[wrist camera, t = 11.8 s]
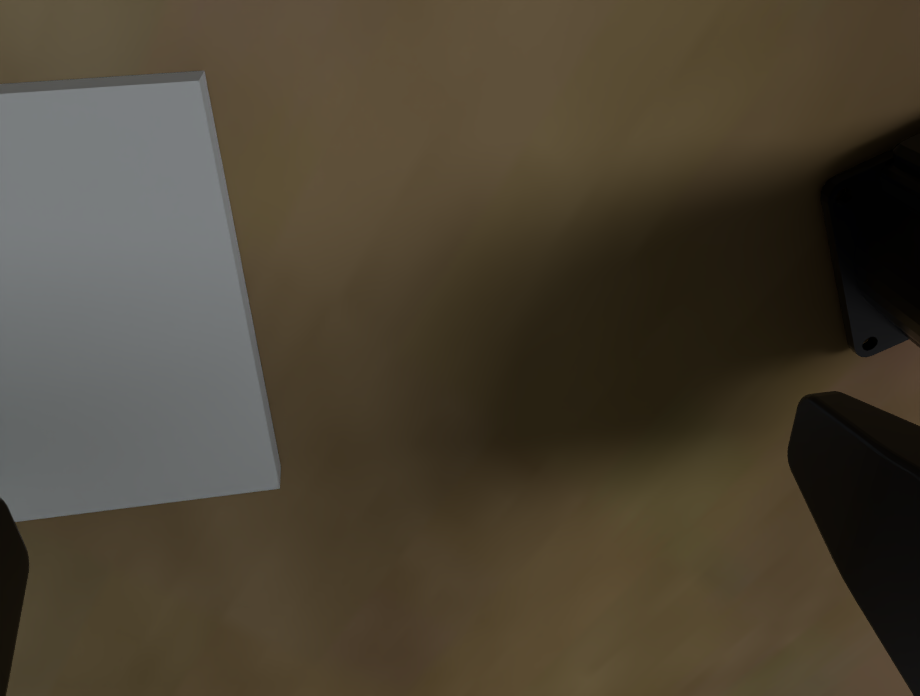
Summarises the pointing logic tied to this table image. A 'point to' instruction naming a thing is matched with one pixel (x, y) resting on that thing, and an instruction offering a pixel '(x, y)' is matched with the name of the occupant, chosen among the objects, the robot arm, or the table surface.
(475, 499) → the table surface
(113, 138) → the docking stand
